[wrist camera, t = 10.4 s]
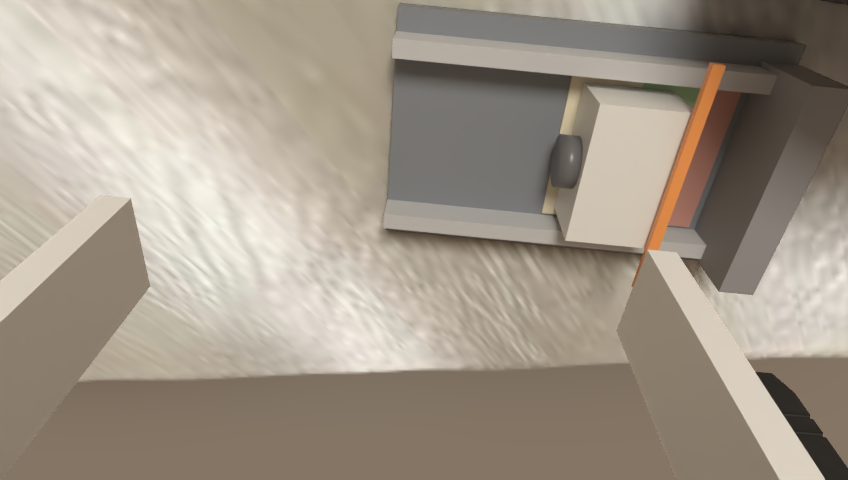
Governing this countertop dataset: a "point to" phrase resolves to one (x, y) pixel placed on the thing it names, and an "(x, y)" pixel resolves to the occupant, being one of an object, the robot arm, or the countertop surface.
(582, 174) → the cream box orange strip
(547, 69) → the gauge base
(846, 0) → the planter
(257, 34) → the countertop surface
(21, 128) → the countertop surface
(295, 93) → the countertop surface
